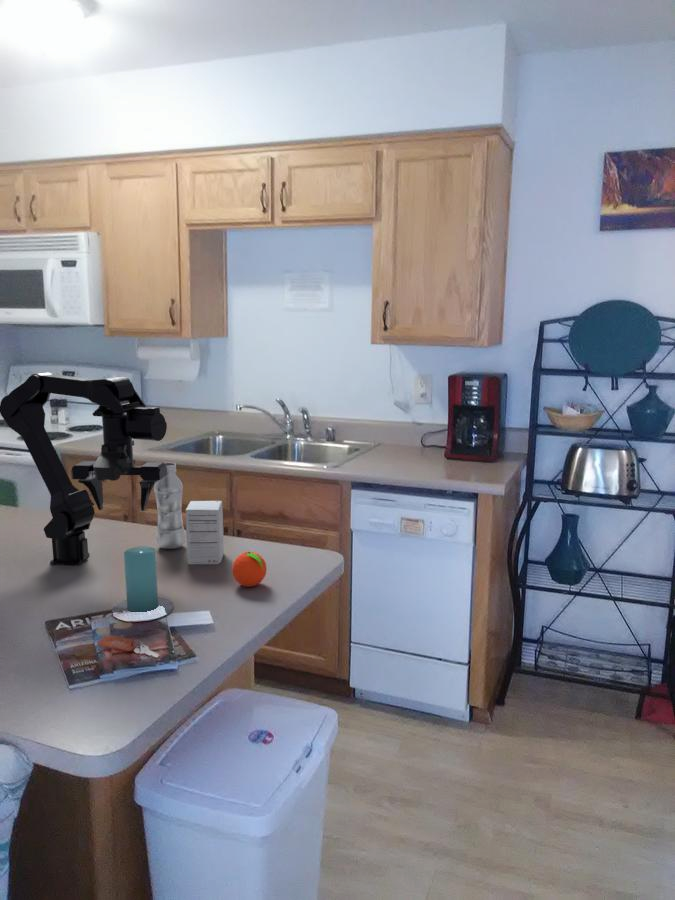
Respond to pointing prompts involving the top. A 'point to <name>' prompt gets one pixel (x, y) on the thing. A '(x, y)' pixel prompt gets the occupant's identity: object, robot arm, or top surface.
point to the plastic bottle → (169, 510)
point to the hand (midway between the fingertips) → (121, 510)
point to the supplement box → (204, 532)
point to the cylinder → (141, 579)
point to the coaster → (161, 601)
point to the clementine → (249, 569)
